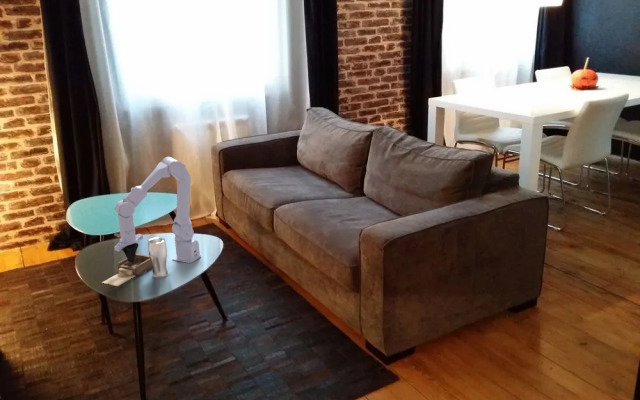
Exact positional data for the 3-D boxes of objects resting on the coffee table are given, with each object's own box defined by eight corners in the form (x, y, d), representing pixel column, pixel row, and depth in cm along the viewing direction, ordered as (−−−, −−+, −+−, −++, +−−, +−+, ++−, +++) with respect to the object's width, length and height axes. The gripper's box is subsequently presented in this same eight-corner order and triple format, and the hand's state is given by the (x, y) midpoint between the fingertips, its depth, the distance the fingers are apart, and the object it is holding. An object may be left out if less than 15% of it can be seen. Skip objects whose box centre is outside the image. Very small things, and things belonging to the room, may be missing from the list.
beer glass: (160, 280, 239) (156, 244, 235) (147, 276, 243) (143, 241, 238) (172, 273, 245) (169, 239, 240) (160, 270, 248) (156, 236, 244)
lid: (135, 277, 243) (134, 270, 243) (118, 287, 235) (117, 280, 234) (119, 274, 247) (119, 267, 246) (102, 284, 238) (101, 277, 237)
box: (155, 265, 253) (154, 256, 252) (138, 276, 243) (137, 266, 242) (136, 262, 257) (135, 253, 256) (118, 272, 247) (117, 263, 246)
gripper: (131, 222, 250) (135, 253, 254) (106, 234, 237) (111, 266, 241) (145, 224, 247) (149, 255, 251) (120, 237, 234) (125, 269, 239)
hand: (131, 261), depth 246 cm, fingers closed
